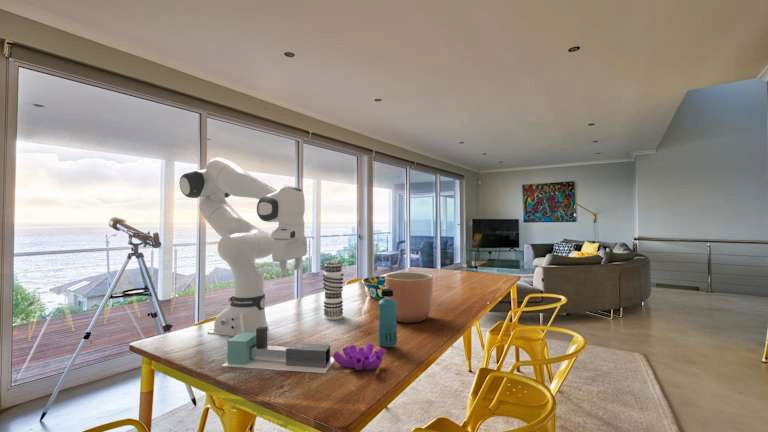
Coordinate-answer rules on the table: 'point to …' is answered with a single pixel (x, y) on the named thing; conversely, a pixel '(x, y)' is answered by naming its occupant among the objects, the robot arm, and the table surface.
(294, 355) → the outer sleeve
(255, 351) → the sliding bolt
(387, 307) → the beverage bottle
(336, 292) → the decorative candle
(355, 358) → the purple coral
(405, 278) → the planter
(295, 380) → the table surface
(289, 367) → the mounting board
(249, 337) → the socket block
